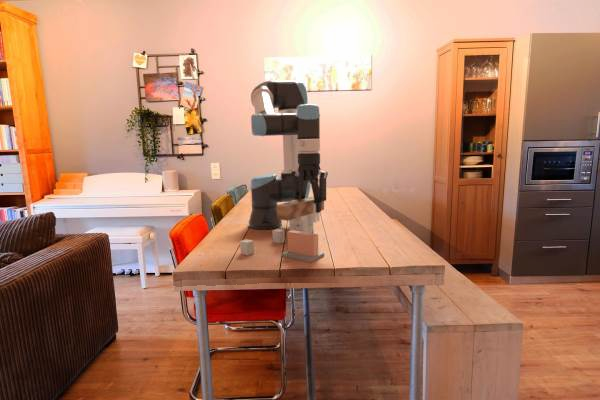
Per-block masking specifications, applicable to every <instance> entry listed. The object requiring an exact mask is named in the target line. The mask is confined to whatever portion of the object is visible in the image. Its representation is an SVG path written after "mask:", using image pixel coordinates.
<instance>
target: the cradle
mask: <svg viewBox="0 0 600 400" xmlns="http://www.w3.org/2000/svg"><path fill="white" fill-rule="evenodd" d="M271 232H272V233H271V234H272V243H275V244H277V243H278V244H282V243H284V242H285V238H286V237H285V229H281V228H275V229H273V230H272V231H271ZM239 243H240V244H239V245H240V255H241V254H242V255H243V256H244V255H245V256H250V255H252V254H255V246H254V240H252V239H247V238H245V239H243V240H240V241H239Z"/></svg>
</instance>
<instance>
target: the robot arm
mask: <svg viewBox="0 0 600 400" xmlns="http://www.w3.org/2000/svg"><path fill="white" fill-rule="evenodd" d="M250 101H251V104H252V107H254V113H253V114H252V115H251V116H250V119H251V120H250V123H251V134H252V135H253V136H255V137H258V136H261V137H268V136H269V137H270V136H272V137H273V136H274V137H275V136H282V149H283V150H282V153H283V170H281V172H280V176H277V174H276V173H267V174H262V175H257V176H255V177H252V178H251V180H250V190H251V191H250V192H251V212H250V216H249V217H250V218H249V220H248V227H249V228H250V229H254V230H271V229H278V228H279V227H282V225H283V223H282V222H283V220H280V219H277V205H278V203H287V202H290V201H293V200H299V199H304V198H308V197H310V196H309V195H310V192H311V191H310V190H312V195H313V196H314V200H315V202H314V203H313V224H315V223H318V222H320V213H321V212H322V211H321V202H323V201H324V202H326V201H327V177H328V175H329V173H328V171H323V170H322V168H321V167H320V164H321V154H320V151H321V139H320V138H321V137H320V135H321V133H320V132H321V131H320V128H321V127H320V126H321V125H320V123H321V122H320V121H321V120H320V119H321V118H320V117H321V114H320V107H319V105H318V104H314V103H313V104H312V103H308V92H307V88H306V85H305V83H304V82H303V81H302V80H267V81H264V82H263V81H262V83H261V82H260V83H259V84H258V85H256V86H255V87H254V88H253V89H252V92H251V94H250ZM275 109H278V113H276V111H275ZM304 220H307V215H305V216H302V217H301V221H304Z"/></svg>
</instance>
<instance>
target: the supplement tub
mask: <svg viewBox="0 0 600 400" xmlns="http://www.w3.org/2000/svg"><path fill="white" fill-rule="evenodd" d="M293 201H295V200H293ZM290 202H291V201H290ZM288 223H289V231H291V230H295V231H300V232H306V233H312V234H315V233H314V222H313V213H312V214H309V215H307V220H304V221H301V217H299V218H296V219H292V220H289V221H288Z"/></svg>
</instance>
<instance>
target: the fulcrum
mask: <svg viewBox="0 0 600 400" xmlns="http://www.w3.org/2000/svg"><path fill="white" fill-rule="evenodd" d="M286 236H287V250H286V251H283V252H281V257H285V258H289V259H294V260H299V261H302V262H307V263H310V264H311V263H313V262H315V261H316V260H318V259H321V258H322V257H324V256H325V252H322V251H321V252H320V251H319V234H318V233H317V234H316V233H313V234H312V233H306V232H300V231H295V230H291V231H290V230H288V231H287V235H286Z"/></svg>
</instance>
